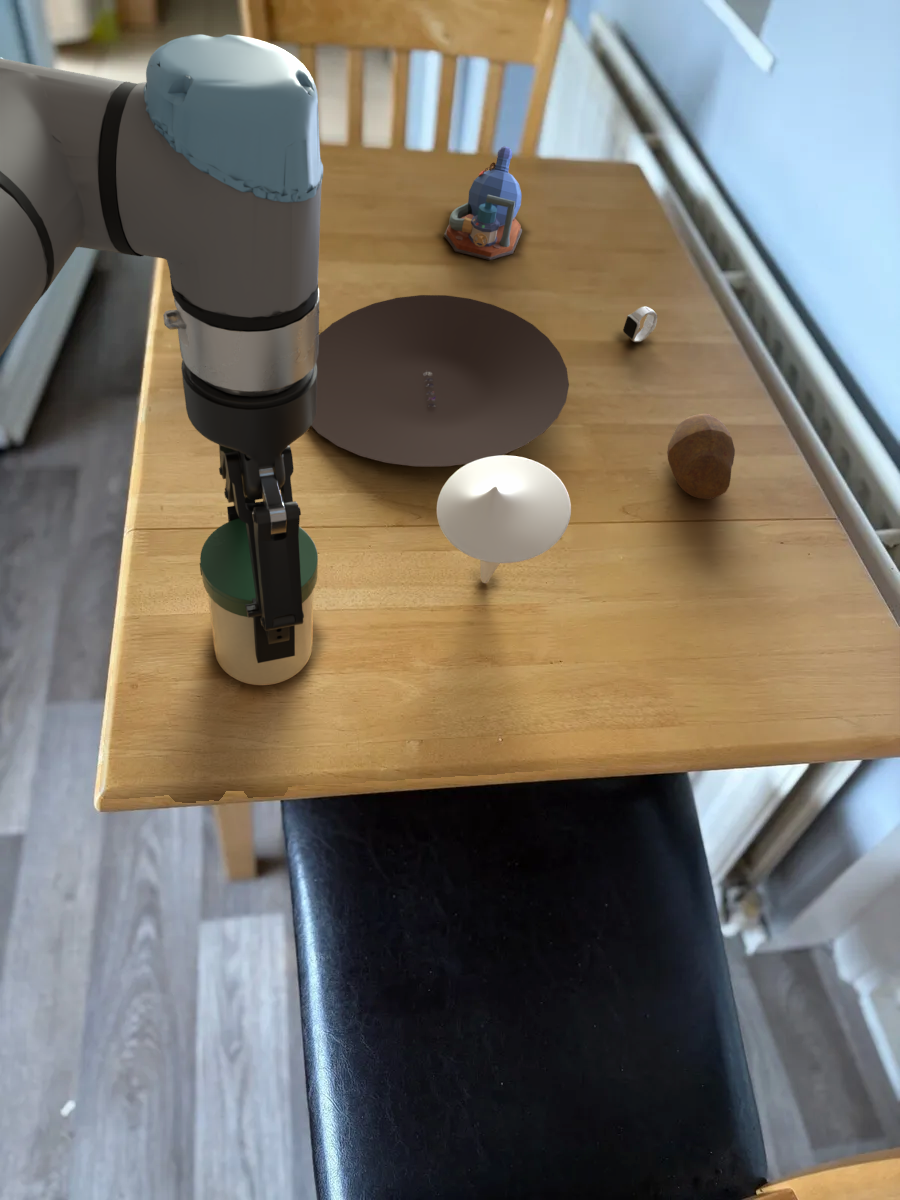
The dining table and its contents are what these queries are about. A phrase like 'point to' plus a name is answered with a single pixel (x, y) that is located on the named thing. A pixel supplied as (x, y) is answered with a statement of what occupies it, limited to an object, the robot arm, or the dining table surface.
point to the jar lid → (244, 567)
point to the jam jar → (239, 647)
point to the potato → (702, 456)
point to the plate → (436, 381)
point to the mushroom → (503, 510)
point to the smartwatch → (634, 324)
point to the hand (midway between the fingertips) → (262, 609)
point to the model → (488, 213)
